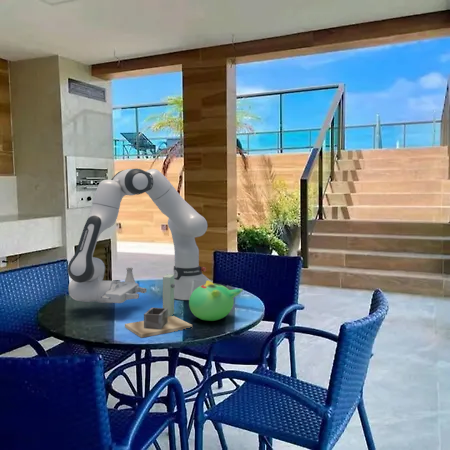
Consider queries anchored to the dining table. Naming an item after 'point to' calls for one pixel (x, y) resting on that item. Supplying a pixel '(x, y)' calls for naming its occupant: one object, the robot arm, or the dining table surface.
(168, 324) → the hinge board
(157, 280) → the dining table surface
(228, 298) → the toy bird
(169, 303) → the tall grey rectangular block
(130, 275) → the flask
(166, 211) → the robot arm
